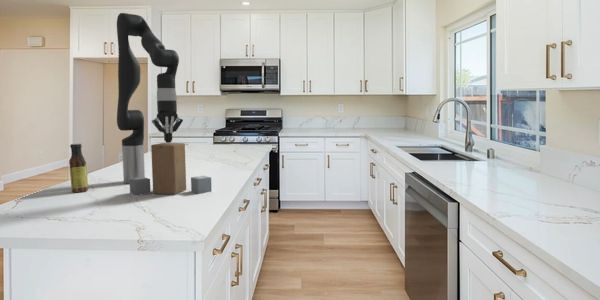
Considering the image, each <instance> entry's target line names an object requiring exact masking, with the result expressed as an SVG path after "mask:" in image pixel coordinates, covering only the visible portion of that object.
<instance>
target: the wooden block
mask: <svg viewBox="0 0 600 300" xmlns="http://www.w3.org/2000/svg"><path fill="white" fill-rule="evenodd" d="M150 147H151V148H150V150H151V154H150V155H151V170H152V171H151V172H152V173H151V174H152V175H151V176H152V193H153V194H154V195H170V194H171V196H172V195H174V196H175V195H177V194H180V193H182V192H184V191H186V190H187V171H186V170H187V169H186V168H187V167H186V166H187V165H186V144H185V142H170V143H167V142H159V143H156V144H151V145H150Z"/></svg>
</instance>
